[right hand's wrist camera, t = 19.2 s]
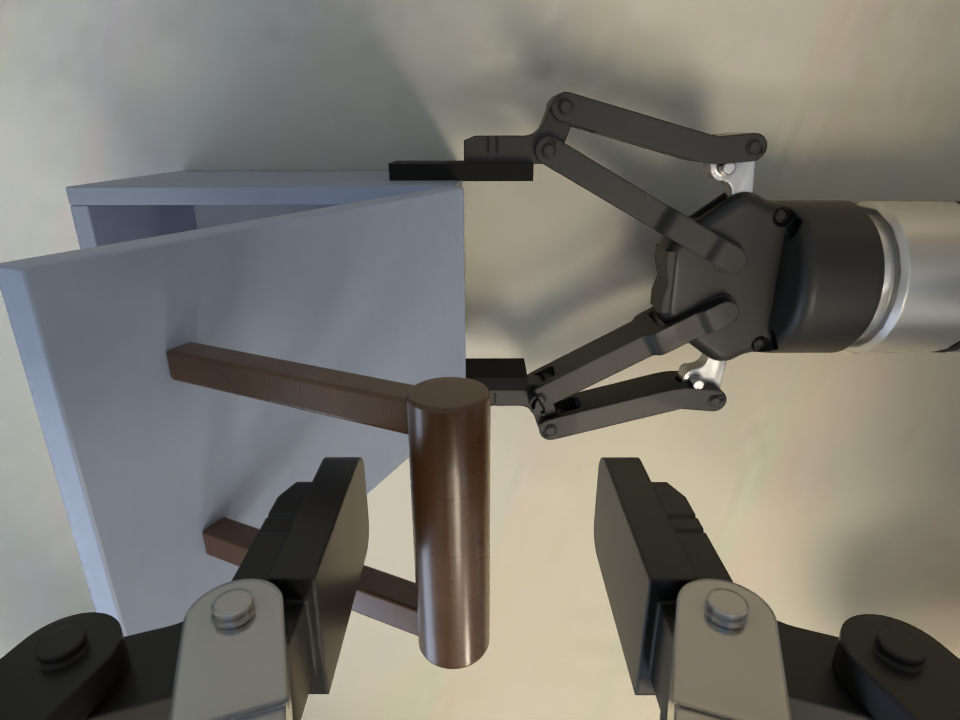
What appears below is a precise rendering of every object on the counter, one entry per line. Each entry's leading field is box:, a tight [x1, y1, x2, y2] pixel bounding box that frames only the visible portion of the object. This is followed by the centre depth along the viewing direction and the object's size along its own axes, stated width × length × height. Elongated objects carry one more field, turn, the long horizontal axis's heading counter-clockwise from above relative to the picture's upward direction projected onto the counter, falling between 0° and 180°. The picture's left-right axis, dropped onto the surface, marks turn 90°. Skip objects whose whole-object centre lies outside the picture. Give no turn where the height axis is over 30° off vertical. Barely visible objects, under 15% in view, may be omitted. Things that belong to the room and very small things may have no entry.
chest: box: [66, 170, 462, 249], centre depth 31 cm, size 16×10×10 cm, turn 90°
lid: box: [0, 187, 490, 669], centre depth 17 cm, size 16×10×8 cm
